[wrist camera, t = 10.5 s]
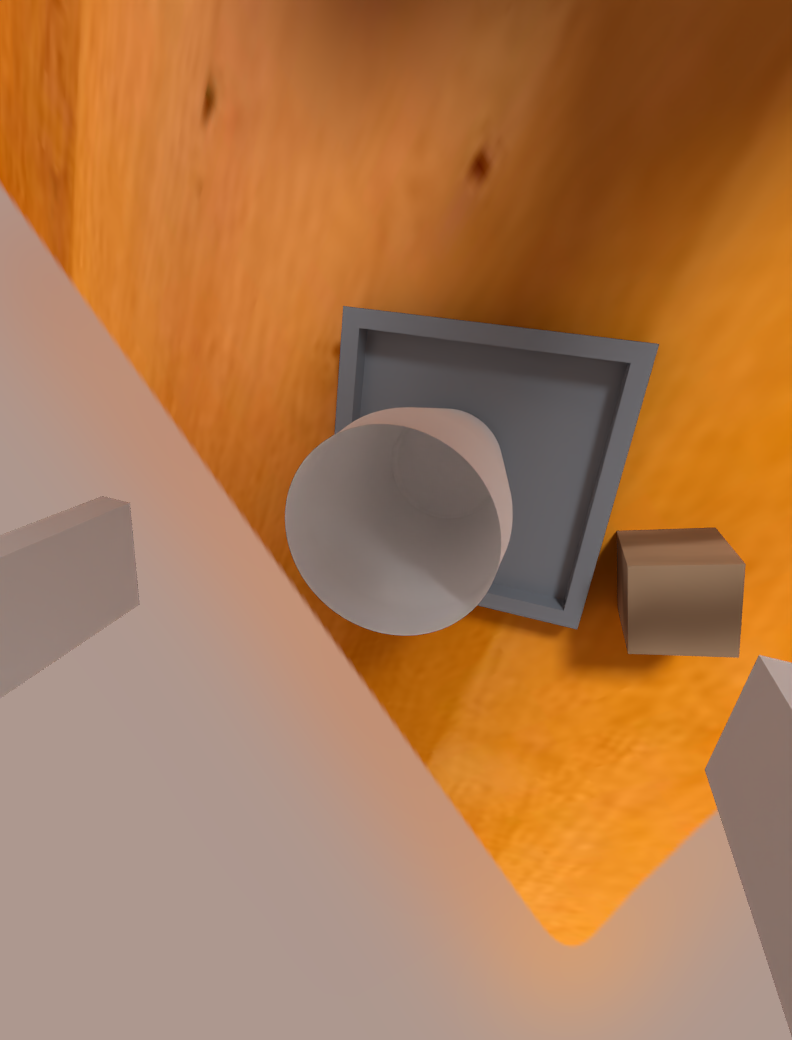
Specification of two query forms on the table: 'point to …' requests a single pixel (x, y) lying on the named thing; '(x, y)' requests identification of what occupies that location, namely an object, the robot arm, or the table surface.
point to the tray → (516, 431)
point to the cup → (402, 518)
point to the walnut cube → (679, 592)
